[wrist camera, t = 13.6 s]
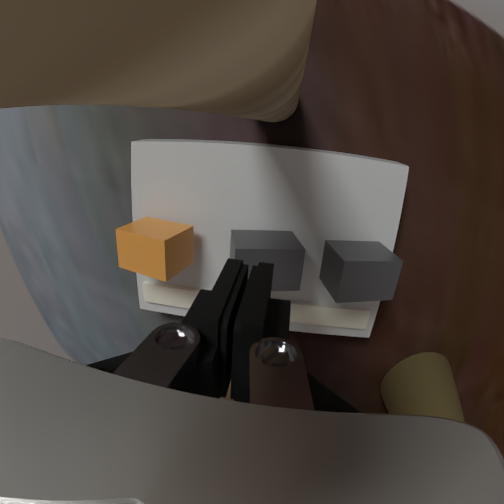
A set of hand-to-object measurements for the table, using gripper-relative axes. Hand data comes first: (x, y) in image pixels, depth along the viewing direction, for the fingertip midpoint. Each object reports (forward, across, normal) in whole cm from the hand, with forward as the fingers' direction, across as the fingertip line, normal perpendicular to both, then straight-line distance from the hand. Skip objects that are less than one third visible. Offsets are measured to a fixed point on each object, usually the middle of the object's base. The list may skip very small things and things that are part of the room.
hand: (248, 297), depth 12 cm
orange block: (+5, +5, 0) cm, 7 cm away
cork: (+8, -13, +10) cm, 18 cm away
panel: (+7, 0, 0) cm, 7 cm away
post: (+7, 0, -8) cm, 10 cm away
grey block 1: (+5, 0, 0) cm, 5 cm away
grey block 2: (+5, -4, 0) cm, 7 cm away
